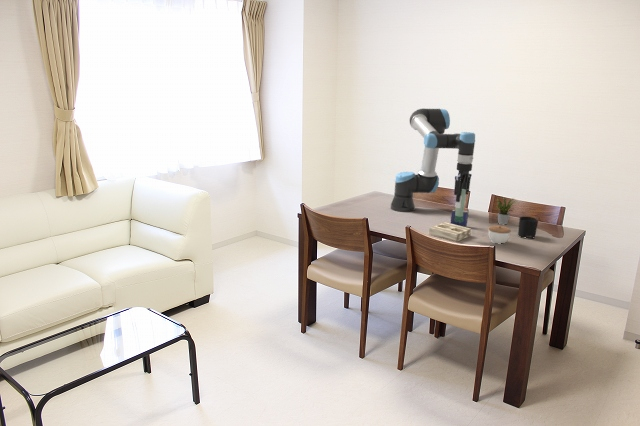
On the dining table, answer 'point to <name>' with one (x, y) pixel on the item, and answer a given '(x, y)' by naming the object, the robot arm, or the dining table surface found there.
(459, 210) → the dowel
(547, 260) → the dining table surface
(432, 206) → the dining table surface
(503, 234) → the lidded jar
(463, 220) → the blue green box
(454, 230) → the socket board
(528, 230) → the pen holder
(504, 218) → the house plant
